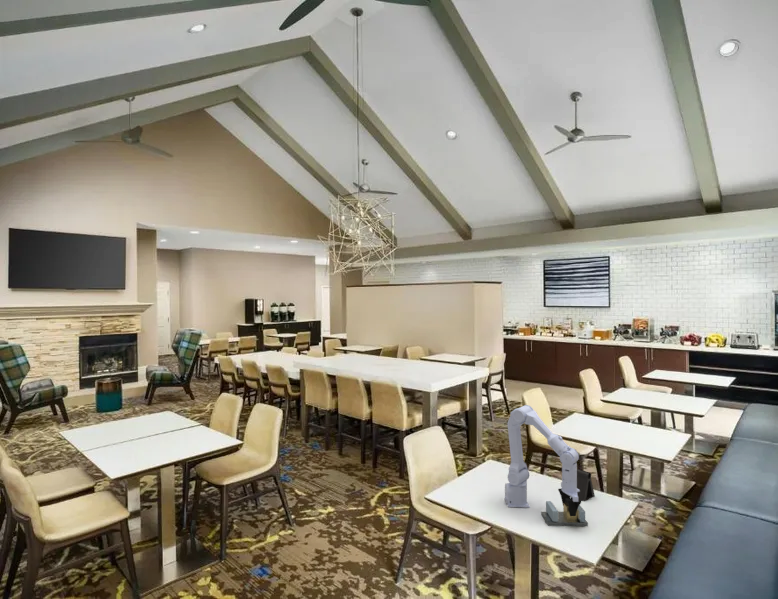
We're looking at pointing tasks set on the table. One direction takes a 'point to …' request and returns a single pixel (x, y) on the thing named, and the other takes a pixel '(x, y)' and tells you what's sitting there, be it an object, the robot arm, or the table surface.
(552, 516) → the sliding jaw
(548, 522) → the vise
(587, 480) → the phone stand
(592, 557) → the table surface
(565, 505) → the brass block
